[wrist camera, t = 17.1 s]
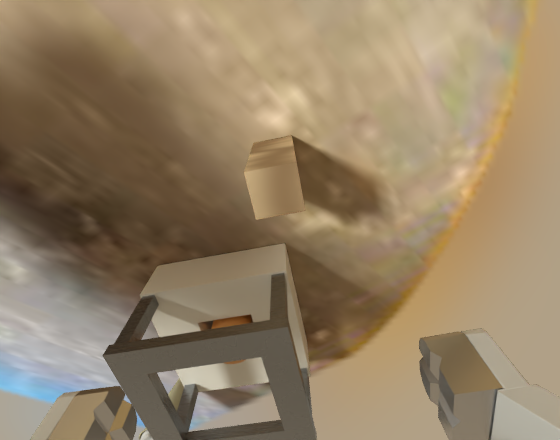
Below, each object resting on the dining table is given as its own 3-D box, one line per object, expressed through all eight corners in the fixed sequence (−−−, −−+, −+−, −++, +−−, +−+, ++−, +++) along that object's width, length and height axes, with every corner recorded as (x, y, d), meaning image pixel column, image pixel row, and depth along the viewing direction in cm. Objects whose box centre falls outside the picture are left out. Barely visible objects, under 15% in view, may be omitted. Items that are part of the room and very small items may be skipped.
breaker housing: (197, 357, 41) (187, 393, 36) (157, 265, 35) (139, 295, 30) (306, 340, 40) (310, 376, 35) (285, 243, 34) (286, 270, 29)
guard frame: (187, 393, 36) (167, 463, 30) (139, 295, 30) (102, 355, 24) (310, 376, 35) (317, 444, 29) (286, 270, 29) (287, 327, 23)
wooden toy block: (262, 179, 31) (255, 219, 23) (253, 142, 29) (243, 172, 21) (298, 172, 30) (305, 210, 22) (291, 135, 29) (296, 162, 21)
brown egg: (222, 330, 37) (214, 366, 33) (211, 300, 35) (201, 334, 31) (259, 324, 37) (256, 360, 32) (250, 294, 35) (245, 327, 30)
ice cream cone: (154, 374, 42) (95, 520, 28) (182, 357, 41) (134, 502, 27) (181, 395, 44) (137, 542, 30) (209, 379, 42) (177, 526, 29)
